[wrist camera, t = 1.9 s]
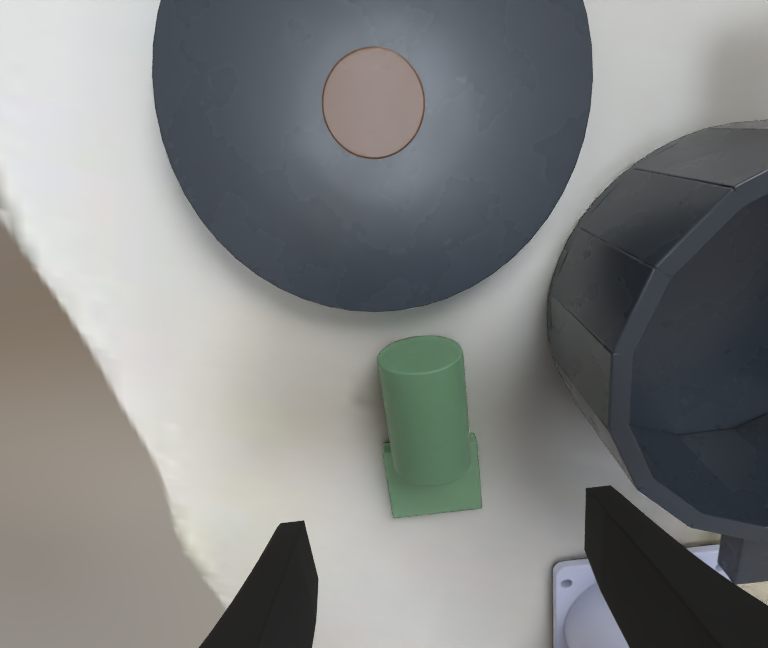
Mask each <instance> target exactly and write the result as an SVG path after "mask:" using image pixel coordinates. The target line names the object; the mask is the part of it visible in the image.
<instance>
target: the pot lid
mask: <svg viewBox="0 0 768 648" xmlns="http://www.w3.org/2000/svg"><path fill="white" fill-rule="evenodd" d="M152 79H153V90H154V100H155V109H156V114H157V118H158V123H159V128H160V132H161V137H162V140H163V143H164V146H165V149H166V152H167V155H168V158H169V161H170V164H171V167H172V169H173V171H174V173H175V175H176V177H177V179H178V181H179V184H180V186H181V188H182V190H183V192H184V194H185V196H186V197H187V199H188V200H189V202H190V203H191V205H192V207H193V208H194V210H195V211H196V213H197V215H198V216H199V218H200V219H201V220H202V222H203V223H204V224H205V225H206V227H207V228H208V229H209V230H210V232H211V233H212V234H213V235H214V236H215V238H216V239H217V240H218V241H219V242H220V243H221V244H222V245H223V246H224V247H225V248H226V249H227V250H228V251H229V252H230V253H231V254H232V255H233V256H234V257H235V258H236V259H237V260H239V261H240V262H241V263H243V264H244V265H245V266H246V267H248V268H249V269H250V270H252V271H253V272H254V273H255V274H257V275H258V276H260V277H262V278H263V279H265V280H267V281H268V282H270V283H272V284H273V285H275V286H277V287H278V288H280V289H282V290H284V291H287V292H289V293H291V294H293V295H296V296H298V297H300V298H302V299H305V300H308V301H312V302H315V303H318V304H321V305H325V306H329V307H334V308H340V309H345V310H351V311H369V312H381V311H396V310H404V309H409V308H414V307H420V306H424V305H428V304H431V303H434V302H437V301H440V300H443V299H446V298H449V297H451V296H453V295H455V294H457V293H460V292H462V291H464V290H466V289H468V288H470V287H472V286H474V285H475V284H477V283H479V282H480V281H482V280H483V279H485V278H487V277H488V276H490V275H492V274H493V273H494V272H495V271H497V270H498V269H499V268H500V267H502V266H503V265H504V264H506V263H507V262H508V261H509V260H511V259H512V258H513V257H514V256H515V255H516V254H517V253H518V252H519V251H520V250H521V249H522V248H523V247H524V246H525V245H526V244H527V243H528V242H529V241H530V240H531V239H532V237H533V236H534V235H535V234H536V232H537V231H538V230H539V228H540V227H541V226H542V225H543V223H544V222H545V221H546V220H547V218H548V217H549V215H550V214H551V212H552V210H553V209H554V207H555V205H556V204H557V202H558V200H559V199H560V197H561V196H562V194H563V192H564V190H565V188H566V185H567V183H568V181H569V179H570V177H571V174H572V172H573V170H574V168H575V165H576V162H577V159H578V156H579V153H580V150H581V147H582V144H583V141H584V137H585V132H586V127H587V122H588V117H589V112H590V106H591V94H592V82H593V68H592V44H591V38H590V32H589V25H588V19H587V13H586V9H585V6H584V2H583V0H161V2H160V6H159V9H158V14H157V21H156V27H155V34H154V41H153V66H152Z"/></svg>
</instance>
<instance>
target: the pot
mask: <svg viewBox="0 0 768 648" xmlns="http://www.w3.org/2000/svg"><path fill="white" fill-rule="evenodd" d="M547 324H548V336H549V343H550V347H551V351H552V355H553V359H554V361H555V364H556V366H557V369H558V371H559V373H560V375H561V377H562V379H563V380H564V382H565V384H566V385H567V387H568V389H569V391H570V393H571V395H572V397H573V399H574V401H575V403H576V404H577V406H578V407H579V408H580V410H581V411H582V413H583V414H584V415H585V417H586V418H587V420H588V421H589V423H590V424H591V425H592V427H593V428H594V430H595V431H596V432H597V434H598V435H599V437H600V438H601V440H602V441H603V442H604V444H605V445H606V447H607V448H608V449H609V451H610V452H611V454H612V455H613V457H614V458H615V459H616V461H617V462H618V464H619V465H620V466H621V468H622V469H623V471H624V472H625V474H626V475H627V476H628V478H629V479H630V481H631V482H632V483H633V485H634V486H635V487H636V489H637V490H638V491H640V492H641V493H642V494H644V495H645V496H647V497H648V498H649V499H651V500H652V501H654V502H655V503H656V504H658V505H659V506H661V507H662V508H663V509H665V510H666V511H668V512H669V513H670V514H672V515H673V516H675V517H676V518H677V519H679V520H680V521H682V522H683V523H684V524H686V525H687V526H689V527H691V528H695V529H699V530H704V531H709V532H713V533H718V534H721V540H720V546H719V552H718V559H717V563H718V564H719V566H720V567H721V568H722V570H723V571H724V572H725V574H726V575H727V576H728V577H729V579H730V580H731V581H732V583H734V584H745V583H754V582H764V581H768V119H767V120H760V121H747V122H734V123H729V124H724V125H720V126H715V127H709V128H707V129H703V130H701V131H698V132H695V133H692V134H689V135H686V136H684V137H682V138H680V139H677V140H675V141H673V142H671V143H669V144H667V145H665V146H663V147H661V148H659V149H658V150H656V151H654V152H653V153H651V154H650V155H648V156H646V157H645V158H643V159H642V160H640V161H638V162H637V163H636V164H635V165H633V166H632V167H631V168H629V169H628V170H627V171H626V172H624V173H623V174H622V175H621V176H619V177H618V178H617V179H616V180H615V181H614V182H613V183H612V184H611V185H610V186H609V187H608V188H607V189H606V190H605V191H604V192H603V193H602V194H601V195H600V196H599V197H598V198H597V199H596V201H595V202H594V203H593V204H592V206H591V207H590V208H589V209H588V210H587V212H586V213H585V214H584V215H583V217H582V218H581V220H580V222H579V223H578V225H577V226H576V228H575V229H574V231H573V233H572V234H571V236H570V238H569V240H568V242H567V244H566V246H565V248H564V250H563V252H562V254H561V256H560V259H559V262H558V265H557V267H556V270H555V273H554V276H553V280H552V285H551V290H550V295H549V300H548V315H547Z"/></svg>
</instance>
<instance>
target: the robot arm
mask: <svg viewBox="0 0 768 648" xmlns="http://www.w3.org/2000/svg"><path fill="white" fill-rule="evenodd" d="M719 546H720V544H717V545H707V546H698V547H689V548H685V547H684V546H683V545H681V544H680V543H679V542H678V541H676V540H675V539H674V538H673V537H671V536H670V535H669V534H668V533H666V532H665V531H664V530H663V529H662V528H660V527H659V526H658V525H657V524H655V523H654V522H653V521H652V520H651V519H650V518H648V517H647V516H646V515H645V514H644V513H642V512H641V511H640V510H639V509H638V508H637V507H635V506H634V505H633V504H632V503H631V502H630V501H628V500H627V499H626V498H625V497H624V496H623V495H622V494H620V493H619V492H618V491H617V490H616V489H614V488H613V487H612V486H611V485H610V486H601V487H592V488H586V511H585V548H584V550H585V552H586V555H587V558H588V559H579V560H569V561H562V562H559V563H557V564H556V565H555V566H554V568H553V648H768V606H767V605H766V604H764V603H763V602H761V601H760V600H758V599H757V598H755V597H753V596H752V595H750V594H749V593H747V592H746V591H744V590H743V589H741V588H740V587H738V586H737V585H735V584H734V583H732V582H731V581H729V577H728V576H727V575H726V574H725V572H724V571H723V570H722V568H721V567H720V566H719V564H718V563H717V559H718V552H719ZM317 596H318V576H317V572H316V568H315V563H314V559H313V555H312V551H311V547H310V543H309V539H308V535H307V531H306V527H305V523H304V521H296V522H288V523H281V524H280V525H279V526H278V527H277V529H276V530H275V532H274V534H273V536H272V537H271V539H270V541H269V543H268V545H267V546H266V548H265V550H264V551H263V553H262V555H261V557H260V558H259V560H258V562H257V563H256V565H255V567H254V568H253V570H252V572H251V573H250V575H249V576H248V578H247V579H246V581H245V583H244V584H243V586H242V587H241V589H240V590H239V592H238V594H237V595H236V597H235V598H234V600H233V601H232V603H231V604H230V605H229V607H228V608H227V610H226V611H225V613H224V614H223V615H222V617H221V618H220V620H219V621H218V623H217V624H216V625H215V627H214V628H213V630H212V631H211V632H210V634H209V635H208V636H207V638H206V639H205V640H204V642H203V643H202V644H201V646H200V647H199V648H312V644H313V638H314V631H315V625H316V614H317Z"/></svg>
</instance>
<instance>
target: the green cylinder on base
mask: <svg viewBox="0 0 768 648" xmlns="http://www.w3.org/2000/svg"><path fill="white" fill-rule="evenodd" d="M377 361H378V368H379V374H380V381H381V387H382V394H383V401H384V407H385V414H386V421H387V427H388V434H389V440H390V443H384V444H383V458H384V464H385V470H386V477H387V483H388V489H389V496H390V502H391V508H392V514H393V518H400V517H409V516H418V515H427V514H436V513H444V512H453V511H462V510H471V509H480V508H482V501H481V487H480V474H479V460H478V446H477V440H476V437H475V434H474V433H469V421H468V408H467V396H466V383H465V370H464V358H463V350H462V348H461V346H460V345H459V344H458V343H457V342H455V341H453V340H451V339H448V338H444V337H438V336H418V337H411V338H406V339H403V340H400V341H397V342H394V343H392V344H390V345H388V346H387V347H385V348H384V349H383V350H382V351H381V352H380V353H379V356H378V359H377Z"/></svg>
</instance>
